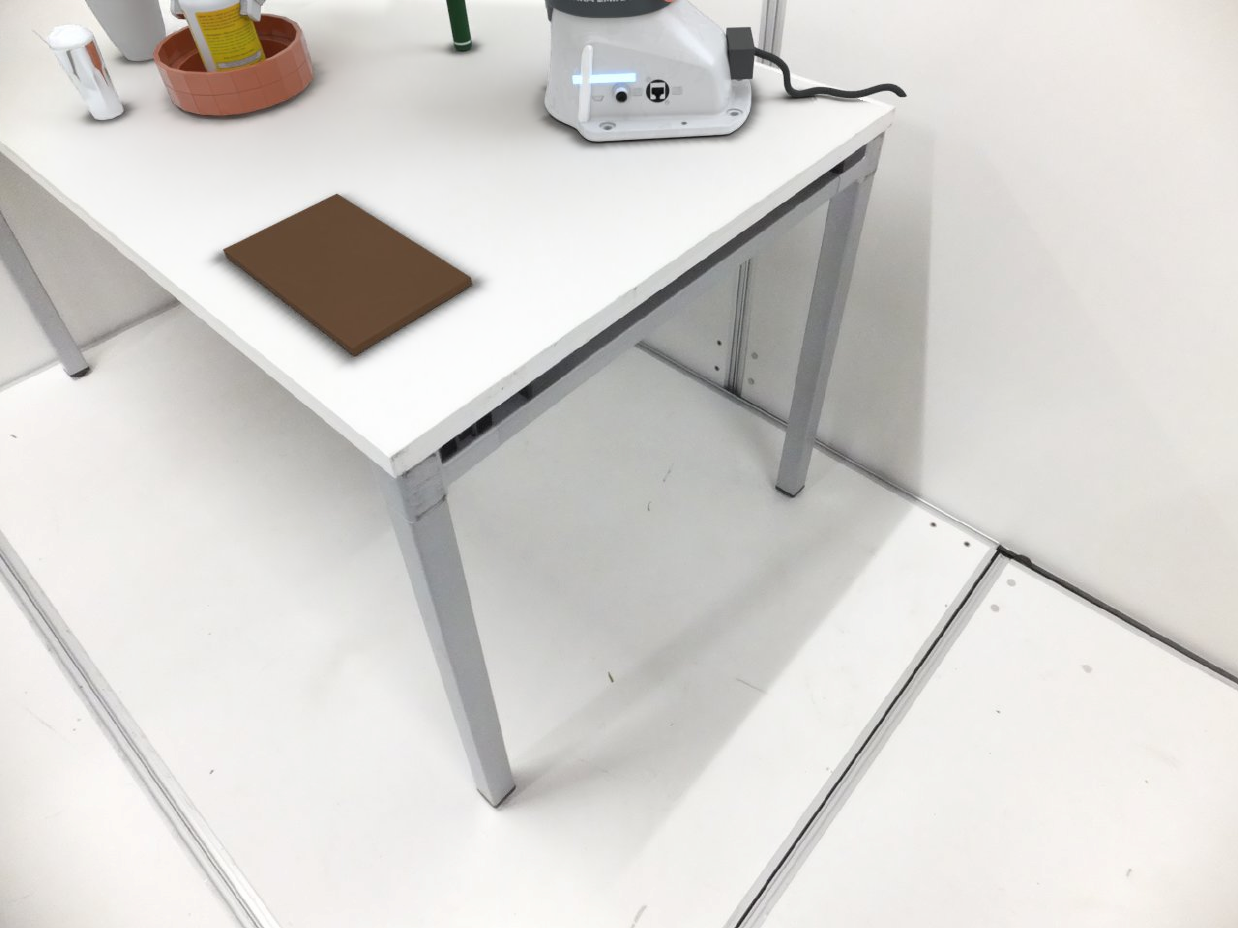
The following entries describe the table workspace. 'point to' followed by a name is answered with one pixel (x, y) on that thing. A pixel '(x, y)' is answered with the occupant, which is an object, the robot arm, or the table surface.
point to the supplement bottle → (222, 34)
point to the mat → (347, 272)
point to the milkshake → (85, 69)
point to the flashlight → (459, 24)
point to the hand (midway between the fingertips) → (215, 18)
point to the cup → (131, 25)
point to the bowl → (236, 71)
